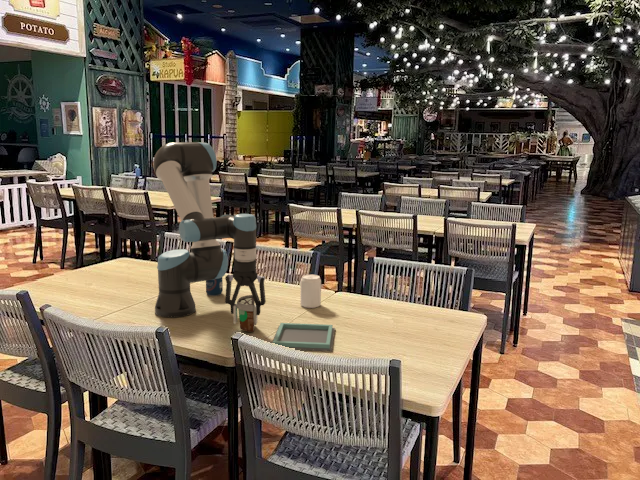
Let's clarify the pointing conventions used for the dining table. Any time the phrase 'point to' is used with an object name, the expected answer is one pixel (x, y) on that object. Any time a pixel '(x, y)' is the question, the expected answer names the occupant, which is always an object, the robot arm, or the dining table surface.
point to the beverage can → (310, 291)
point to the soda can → (214, 287)
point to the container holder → (305, 336)
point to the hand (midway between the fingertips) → (245, 322)
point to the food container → (246, 313)
